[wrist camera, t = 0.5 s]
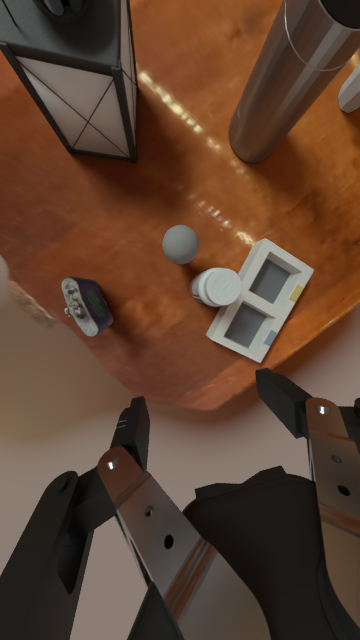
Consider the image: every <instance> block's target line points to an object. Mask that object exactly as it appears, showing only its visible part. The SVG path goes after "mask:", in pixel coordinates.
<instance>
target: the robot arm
mask: <svg viewBox="0 0 360 640" xmlns="http://www.w3.org/2000/svg"><path fill="white" fill-rule="evenodd" d="M359 48H360V0H283V1H282V4H281V6H280V8H279V10H278V13H277V15H276V17H275V20H274V22H273V24H272V27H271V29H270V31H269V34H268V36H267V38H266V41H265V43H264V45H263V47H262V50H261V52H260V54H259V57H258V59H257V61H256V64H255V66H254V68H253V71H252V73H251V75H250V78H249V80H248V82H247V85H246V87H245V89H244V91H243V94H242V96H241V98H240V100H239V103H238V105H237V107H236V110H235V112H234V114H233V117H232V119H231V122H230V126H229V139H230V143H231V146H232V148H233V150H234V152H235V153H236V155H237V156H238V157H239V158H241V159H242V160H244V161H246V162H249V163H257V162H261V161H263V160H265V159H266V158H267V157H268V156H269V155H270V154H271V153H272V152H273V151H274V149H275V148H276V147H277V146H278V145H279V143H280V142H281V141H282V140H283V139H284V138H285V136H286V135H287V134H288V133H289V132H290V130H291V129H292V128H293V127H294V126H295V124H296V123H297V122H298V121H299V120H300V118H301V117H302V116H303V115H304V114H305V112H306V111H307V110H308V109H309V108H310V106H311V105H312V104H313V103H314V102H315V100H316V99H317V98H318V97H319V96H320V94H321V93H322V92H323V91H324V90H325V89H326V87H327V86H328V85H329V84H330V83H331V81H332V80H333V79H334V78H335V77H336V75H337V74H338V73H339V72H340V71H341V69H342V68H343V67H344V66H345V65H346V63H347V62H348V61H349V60H350V59H351V57H352V56H353V55H354V54H355V52H356V51H357V50H358V49H359ZM255 374H256V383H257V391H258V394H259V396H260V398H261V399H262V400H263V401H264V403H265V404H266V405H267V406H268V407H269V408H270V409H271V411H272V412H273V413H274V414H275V415H276V416H277V417H278V419H279V420H280V421H281V422H282V423H283V424H284V425H285V426H286V428H287V429H288V430H289V431H290V432H291V433H292V434H293V435H294V437H295V438H296V439H297V438H300V437H305V438H306V439H307V450H308V460H309V470H310V480H309V479H307V478H304V477H301V476H297V475H292V474H286V472H285V471H284V469H283V468H282V466H277V467H273V468H270V469H266V470H263V471H260V472H258V473H257V474H255V475H254V476H252V477H251V478H249V479H248V480H246V481H245V482H244V483H242V484H229V483H228V484H227V483H215V484H212V485H208V486H204V487H201V488H197V489H195V493H196V499H195V500H193V501H192V502H191V503H190V504H188V505H187V506H186V508H185V509H184V510H183V511H182V512H181V511H180V510H179V508H178V507H177V506H176V505H175V504H174V502H173V501H172V500H171V499H170V497H169V496H168V495H167V494H166V492H165V491H164V490H163V489H162V488H161V487H160V485H159V484H158V483H157V481H156V480H155V479H154V478H153V476H152V475H151V474H150V473H149V472H148V471H146V470H147V457H148V444H149V431H150V419H149V414H148V410H147V406H146V402H145V399H144V396H142V397H137V398H133V399H132V401H131V405H130V407H129V408H125V409H124V411H123V412H122V413H121V415H120V417H119V421H118V424H117V427H116V430H115V433H114V437H113V440H112V443H111V447H110V449H109V450H108V451H107V452H106V453H104V455H103V456H102V457H101V458H100V460H99V462H98V465H97V466H96V467H95V468H93V469H92V470H90V471H88V472H86V473H84V474H82V475H81V476H79V477H78V474H77V473H76V472H75V471H68V472H65V473H63V474H61V475H60V476H58V477H57V478H55V479H54V480H53V481H52V482H51V483H50V484H49V485H48V487H47V488H46V489H45V491H44V493H43V495H42V497H41V499H40V500H39V502H38V504H37V506H36V508H35V510H34V512H33V514H32V516H31V518H30V520H29V522H28V524H27V526H26V528H25V530H24V532H23V533H22V535H21V537H20V539H19V541H18V543H17V545H16V547H15V549H14V551H13V553H12V555H11V557H10V559H9V561H8V563H7V564H6V567H5V568H4V570H3V572H2V574H1V576H0V640H69V639H70V635H71V631H72V626H73V622H74V617H75V613H76V609H77V604H78V600H79V595H80V591H81V586H82V582H83V578H84V573H85V569H86V565H87V560H88V555H89V551H90V547H91V542H92V538H93V534H94V529H95V528H97V527H98V526H100V525H101V524H103V523H104V522H106V521H107V520H109V519H110V518H112V517H113V516H114V517H115V518H116V521H117V523H118V525H119V527H120V529H121V531H122V533H123V535H124V538H125V540H126V542H127V544H128V546H129V549H130V551H131V552H132V555H133V557H134V560H135V562H136V565H137V567H138V569H139V571H140V574H141V576H142V578H143V581H144V583H145V585H146V587H147V589H148V590H147V592H146V595H145V597H144V600H143V602H142V604H141V607H140V609H139V612H138V614H137V617H136V619H135V622H134V624H133V627H132V629H131V631H130V634H129V636H128V639H127V640H360V398H357V399H356V400H355V404H354V407H343V406H342V407H340V406H337V405H335V404H334V403H333V402H331V401H329V400H326V399H323V398H316V397H315V398H314V397H312V396H311V395H310V394H308V393H307V392H305V391H304V390H303V389H301V388H300V387H299V386H297V385H296V384H295V383H293V382H292V381H290V380H289V379H288V378H287V377H285V376H283V375H281V374H278V373H273V372H272V371H271V370H270V369H268V368H263V369H258V370H256V372H255Z"/></svg>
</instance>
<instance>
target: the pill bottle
mask: <svg viewBox="0 0 360 640" xmlns="http://www.w3.org/2000/svg"><path fill="white" fill-rule="evenodd" d="M241 288H242V284H241V280H240V278H239V276H238V275H237V273H235V272H234V271H232V270H230V269H223V268H212V269H209V270H207V271H204V272H201V273H199V274H197V275H196V276H195V277H194V278H193V280H192V282H191V285H190V291H191V294H192V296H193V298H194V299H195V300H197V301H198V302H200V303H203V304H206V305H209V306H213V307H218V306H223V305H229V304H231V303H233V302H234V301H235V300H236V299H237V298H238V297H239V295H240V293H241Z"/></svg>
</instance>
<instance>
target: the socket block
mask: <svg viewBox="0 0 360 640" xmlns="http://www.w3.org/2000/svg"><path fill="white" fill-rule="evenodd" d="M313 271H314V269H312V268H311V267H309V266H308V265H306V264H305V263H303V262H301V261H300V260H298V259H297V258H295V257H294V256H292V255H291V254H289V253H288V252H286V251H285V250H283V249H281V248H280V247H278V246H277V245H275V244H274V243H272V242H271V241H269V240H268V239H266V238H264V239H262V240H260V241H258V242H256V243H255V244H254V245H253V247H252V249H251V251H250V253H249V255H248V257H247V259H246V260H245V262H244V264H243V266H242V268H241V270H240V272H239V274H238V276H239V278H240V280H241V284H242V288H241V293H240V295H239V297H238V298H237V299H236V300H235V301H234V302H233V303H231V304H229V305H223V306H221V307H220V309H219V311H218V313H217V315H216V317H215V319H214V321H213V322H212V324H211V326H210V328H209V330H208V332H207V334H206V335H207V336H208V337H209V338H210V339H211V340H213V341H215V342H217V343H219V344H221V345H223V346H226V347H228V348H230V349H232V350H234V351H236V352H238V353H240V354H242V355H244V356H246V357H248V358H251V359H253V360H255V361H257V362H259V363H261V361H262V359H263V358H264V356H265V354H266V353H267V351H268V349H269V347H270V346H271V344H272V342H273V340H274V339H275V337H276V335H277V334H278V332H279V330H280V328H281V327H282V325H283V323H284V321H285V320H286V318H287V316H288V315H289V313H290V311H291V309H292V308H293V306H294V304H295V303H296V301H297V299H298V297H299V296H300V294H301V292H302V290H303V289H304V287H305V285H306V284H307V282H308V280H309V278H310V277H311V275H312V273H313Z"/></svg>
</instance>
